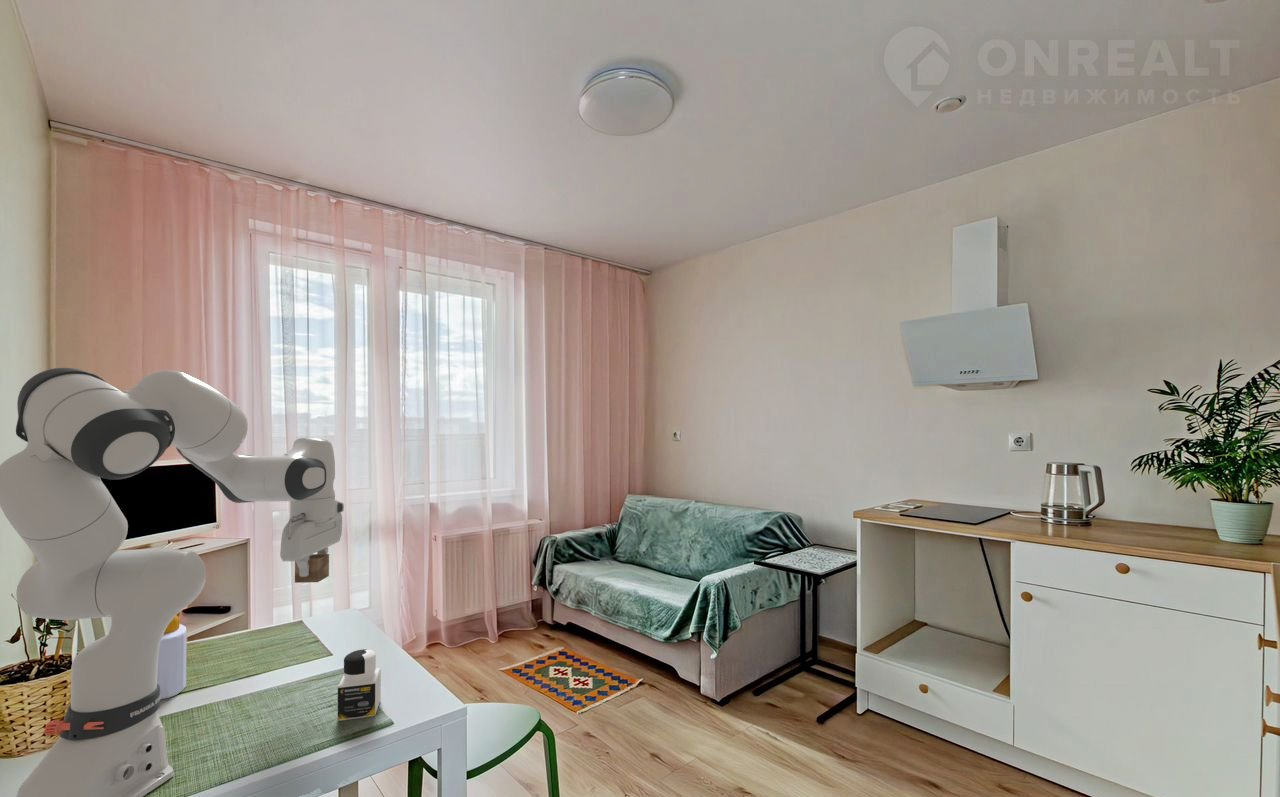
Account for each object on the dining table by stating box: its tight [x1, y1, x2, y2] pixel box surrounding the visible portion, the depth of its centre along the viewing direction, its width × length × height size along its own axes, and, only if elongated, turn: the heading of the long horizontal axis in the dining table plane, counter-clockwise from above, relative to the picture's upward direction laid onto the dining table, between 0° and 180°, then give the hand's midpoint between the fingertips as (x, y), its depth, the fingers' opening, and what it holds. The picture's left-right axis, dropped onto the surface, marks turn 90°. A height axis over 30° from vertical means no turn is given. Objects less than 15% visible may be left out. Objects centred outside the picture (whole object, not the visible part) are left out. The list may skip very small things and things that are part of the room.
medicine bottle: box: [337, 648, 382, 722], centre depth 123 cm, size 7×7×12 cm
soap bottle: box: [157, 614, 188, 701], centre depth 133 cm, size 13×8×20 cm, turn 46°
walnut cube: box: [294, 553, 330, 584], centre depth 131 cm, size 5×5×5 cm
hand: (312, 571), depth 131 cm, fingers closed on walnut cube, 5 cm apart
